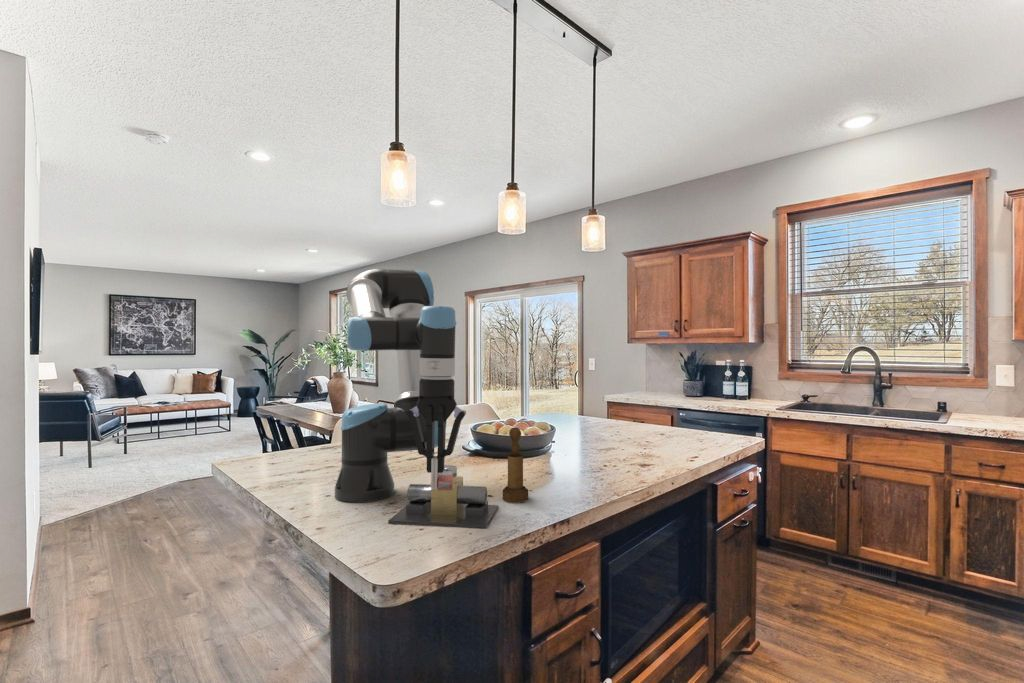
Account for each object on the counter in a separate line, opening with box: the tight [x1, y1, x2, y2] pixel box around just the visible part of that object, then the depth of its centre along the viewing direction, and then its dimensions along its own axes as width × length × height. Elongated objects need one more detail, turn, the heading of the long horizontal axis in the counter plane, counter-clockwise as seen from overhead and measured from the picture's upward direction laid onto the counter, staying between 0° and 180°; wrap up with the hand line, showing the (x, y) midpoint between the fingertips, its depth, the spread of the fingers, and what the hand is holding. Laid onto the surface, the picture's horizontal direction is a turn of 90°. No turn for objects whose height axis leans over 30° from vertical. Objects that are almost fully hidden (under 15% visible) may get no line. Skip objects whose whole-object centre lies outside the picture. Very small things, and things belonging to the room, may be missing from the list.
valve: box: [387, 475, 499, 529], centre depth 117 cm, size 22×14×8 cm, turn 81°
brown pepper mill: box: [502, 427, 529, 504], centre depth 129 cm, size 7×6×18 cm
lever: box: [438, 464, 458, 491], centre depth 114 cm, size 14×4×2 cm, turn 5°
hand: (435, 487), depth 110 cm, fingers closed
